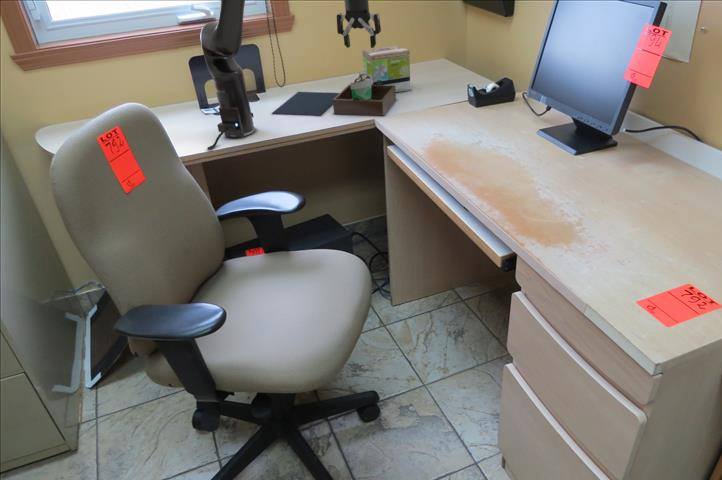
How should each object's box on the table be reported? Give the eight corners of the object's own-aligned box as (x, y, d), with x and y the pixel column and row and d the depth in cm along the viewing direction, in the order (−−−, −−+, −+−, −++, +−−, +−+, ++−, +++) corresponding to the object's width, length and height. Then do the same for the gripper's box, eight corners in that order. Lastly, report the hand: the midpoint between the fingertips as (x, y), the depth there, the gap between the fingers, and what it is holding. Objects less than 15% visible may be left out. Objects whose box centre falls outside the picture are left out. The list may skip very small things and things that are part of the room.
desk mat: (320, 115, 190) (320, 114, 190) (272, 114, 194) (272, 112, 194) (342, 94, 209) (342, 93, 209) (298, 92, 213) (298, 91, 213)
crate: (383, 116, 187) (382, 101, 184) (334, 114, 191) (332, 99, 188) (396, 99, 201) (395, 85, 198) (349, 98, 205) (348, 84, 202)
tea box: (374, 97, 204) (371, 55, 196) (364, 90, 212) (361, 49, 204) (411, 90, 209) (409, 49, 201) (400, 83, 217) (398, 44, 208)
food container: (370, 112, 190) (367, 83, 185) (352, 112, 192) (350, 83, 186) (378, 101, 200) (376, 72, 195) (361, 100, 202) (359, 72, 196)
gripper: (330, -4, 174) (336, 50, 184) (374, -5, 171) (378, 50, 180) (338, -8, 180) (343, 44, 190) (380, -9, 177) (384, 44, 186)
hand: (360, 47), depth 185 cm, fingers open, 8 cm apart
